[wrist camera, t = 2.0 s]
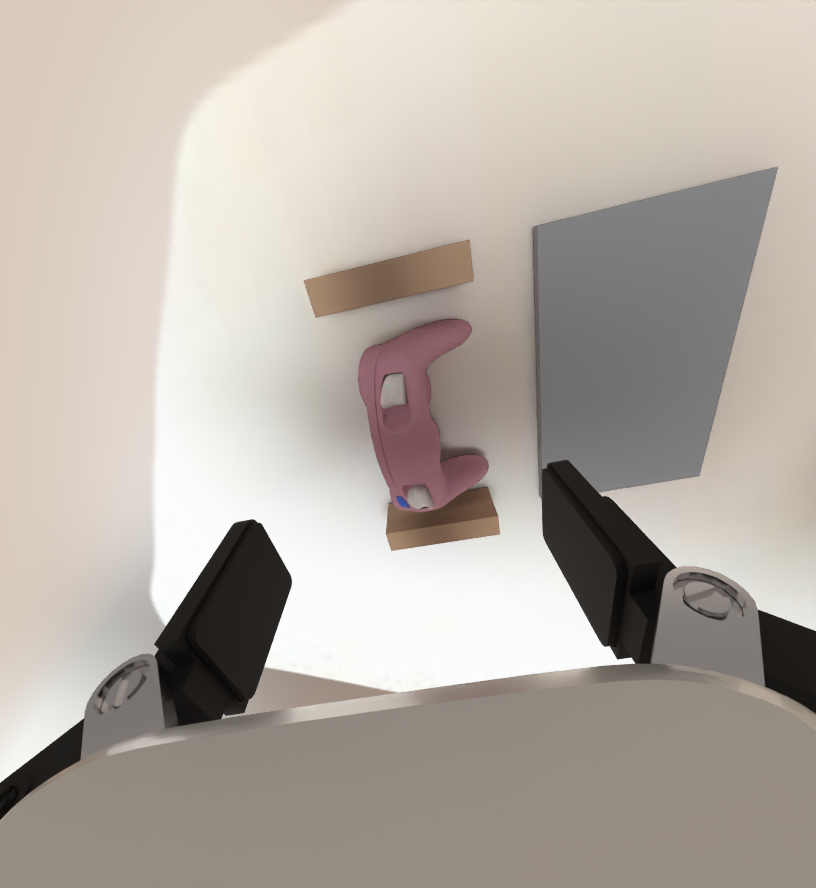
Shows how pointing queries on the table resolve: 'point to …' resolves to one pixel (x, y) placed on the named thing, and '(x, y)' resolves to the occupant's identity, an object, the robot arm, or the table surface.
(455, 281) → the dock
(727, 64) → the table surface
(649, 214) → the mat
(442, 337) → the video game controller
